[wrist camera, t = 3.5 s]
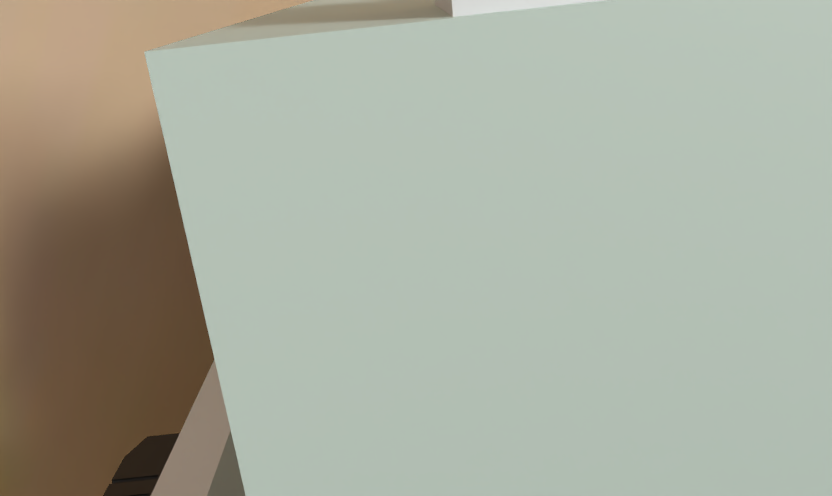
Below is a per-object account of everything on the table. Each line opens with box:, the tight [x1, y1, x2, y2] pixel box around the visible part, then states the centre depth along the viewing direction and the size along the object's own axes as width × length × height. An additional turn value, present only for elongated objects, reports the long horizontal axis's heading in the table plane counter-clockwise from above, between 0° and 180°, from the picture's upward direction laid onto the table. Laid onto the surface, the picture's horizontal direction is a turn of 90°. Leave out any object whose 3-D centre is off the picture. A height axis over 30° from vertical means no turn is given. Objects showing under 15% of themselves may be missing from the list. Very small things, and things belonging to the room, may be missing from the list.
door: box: [144, 0, 832, 496], centre depth 11 cm, size 4×20×12 cm, turn 6°
